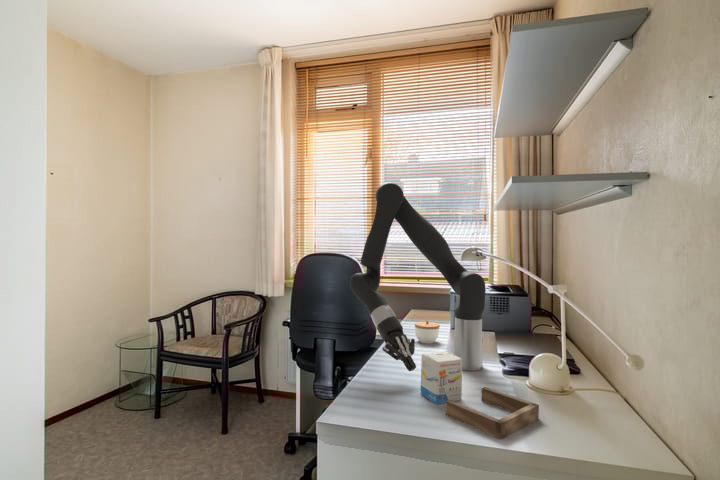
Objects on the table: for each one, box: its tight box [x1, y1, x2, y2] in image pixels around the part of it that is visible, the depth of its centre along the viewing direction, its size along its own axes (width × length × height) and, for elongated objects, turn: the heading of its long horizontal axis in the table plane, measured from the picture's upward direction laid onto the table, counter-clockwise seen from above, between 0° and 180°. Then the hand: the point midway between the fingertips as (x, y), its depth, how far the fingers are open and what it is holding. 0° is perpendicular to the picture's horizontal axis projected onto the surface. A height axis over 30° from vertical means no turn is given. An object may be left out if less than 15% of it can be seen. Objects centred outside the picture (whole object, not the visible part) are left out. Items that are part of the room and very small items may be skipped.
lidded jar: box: [414, 319, 440, 344], centre depth 176 cm, size 11×11×9 cm
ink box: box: [419, 351, 463, 405], centre depth 114 cm, size 9×8×12 cm
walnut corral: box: [445, 386, 540, 440], centre depth 101 cm, size 17×16×4 cm
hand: (412, 369), depth 122 cm, fingers closed
